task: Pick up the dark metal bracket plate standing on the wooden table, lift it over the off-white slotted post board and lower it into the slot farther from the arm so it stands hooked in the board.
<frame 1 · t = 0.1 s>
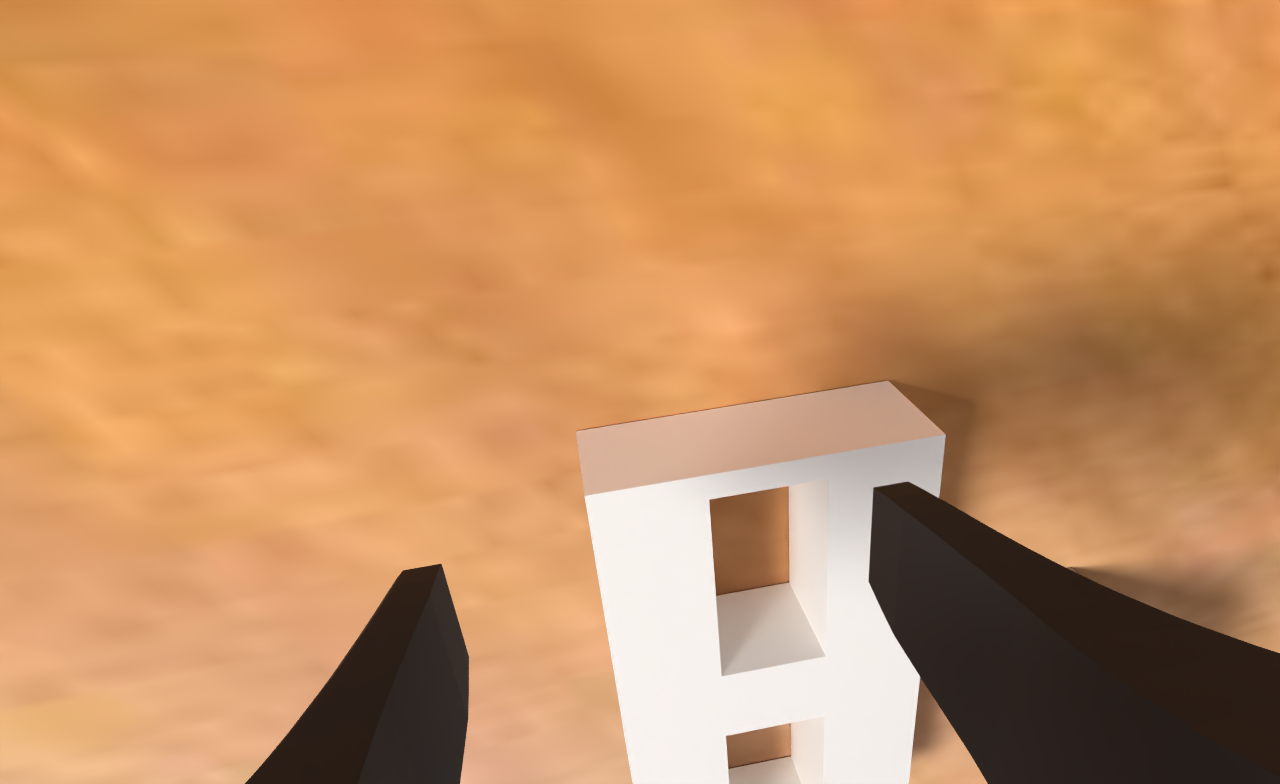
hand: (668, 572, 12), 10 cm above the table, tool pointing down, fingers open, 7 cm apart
post board: (745, 619, 26), on the table
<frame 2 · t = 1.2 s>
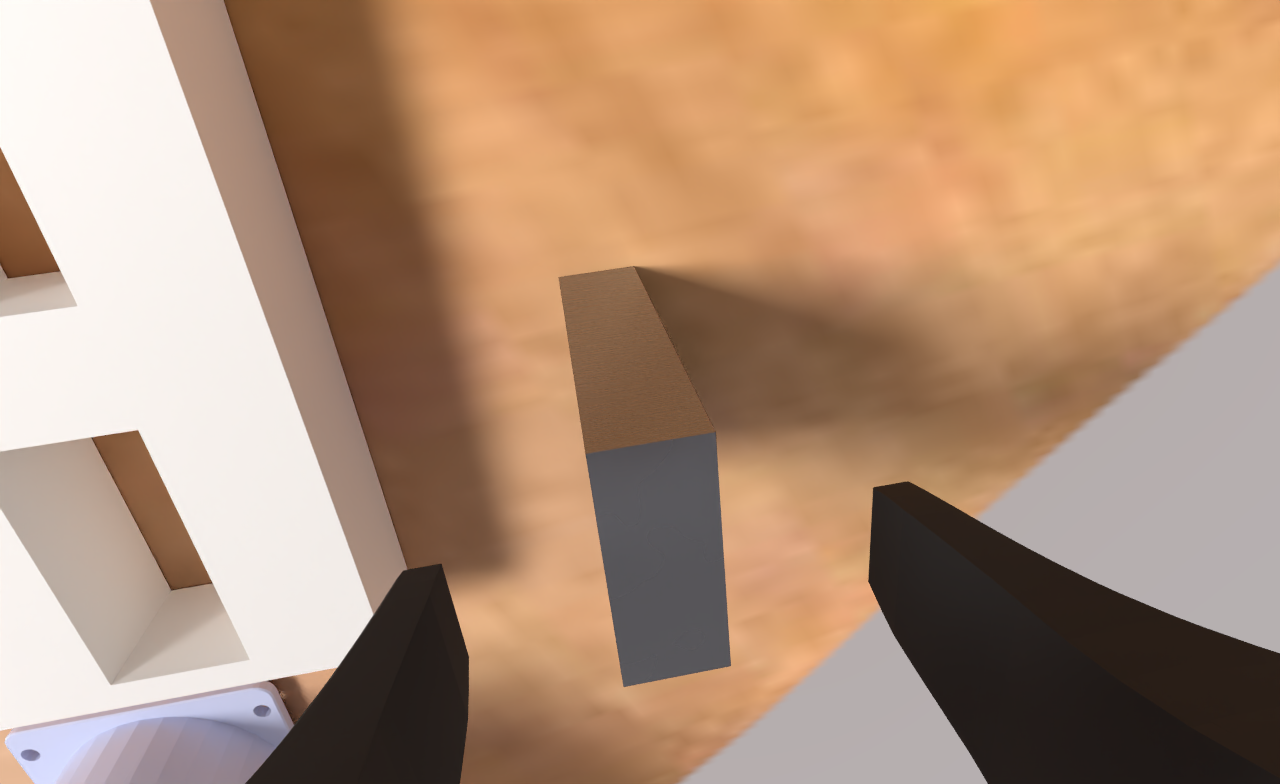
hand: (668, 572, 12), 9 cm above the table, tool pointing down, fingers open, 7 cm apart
bracket plate: (608, 358, 20), on the table
post board: (109, 323, 18), on the table
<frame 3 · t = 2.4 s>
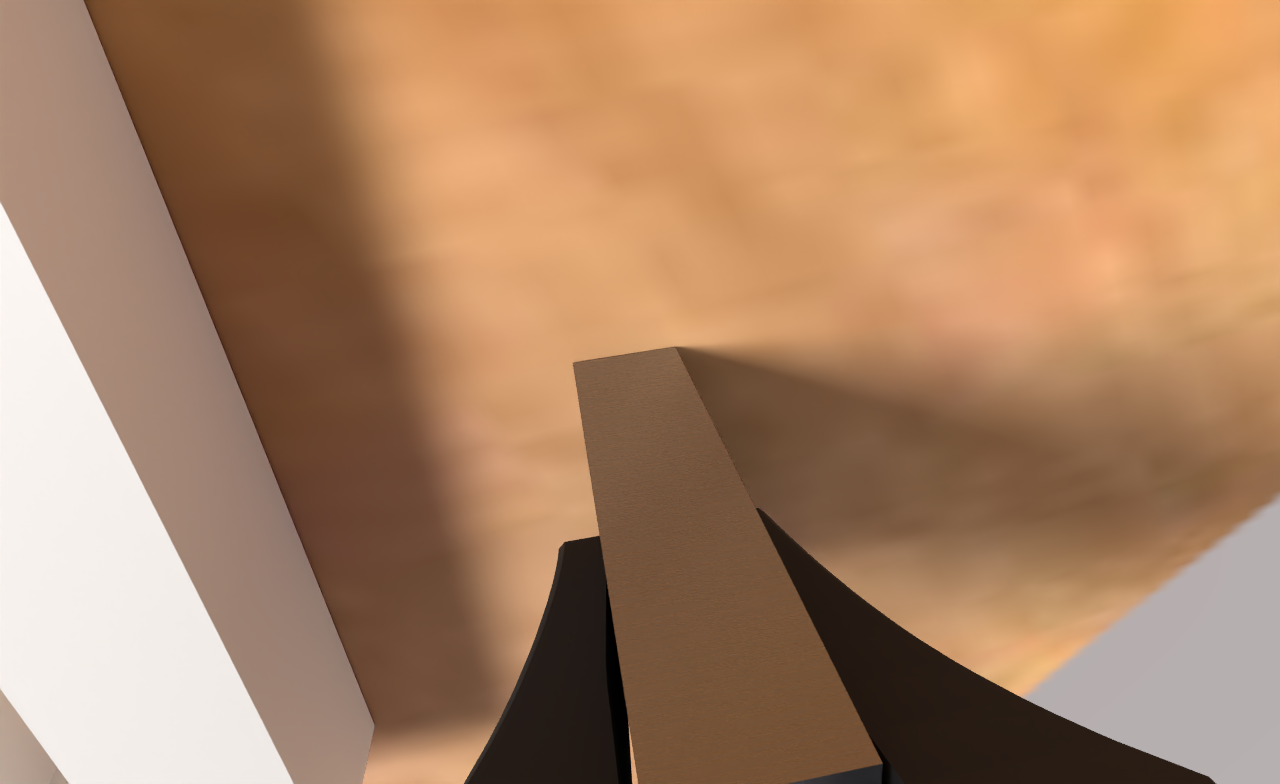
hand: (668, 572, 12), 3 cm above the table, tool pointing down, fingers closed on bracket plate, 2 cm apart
bracket plate: (638, 464, 15), on the table, touching gripper
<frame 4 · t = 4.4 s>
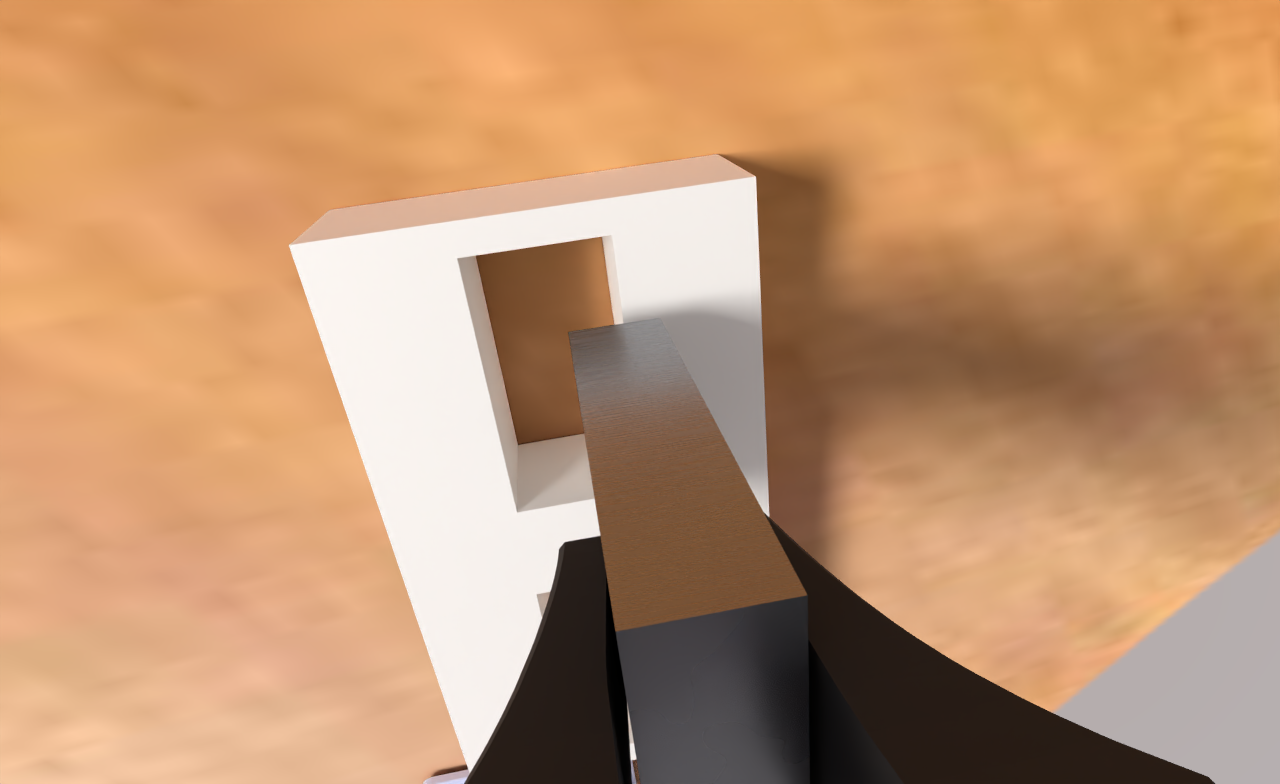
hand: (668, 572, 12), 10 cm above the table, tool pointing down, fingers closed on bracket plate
bracket plate: (627, 426, 16), point 5 cm above the table, touching gripper
post board: (580, 473, 22), on the table
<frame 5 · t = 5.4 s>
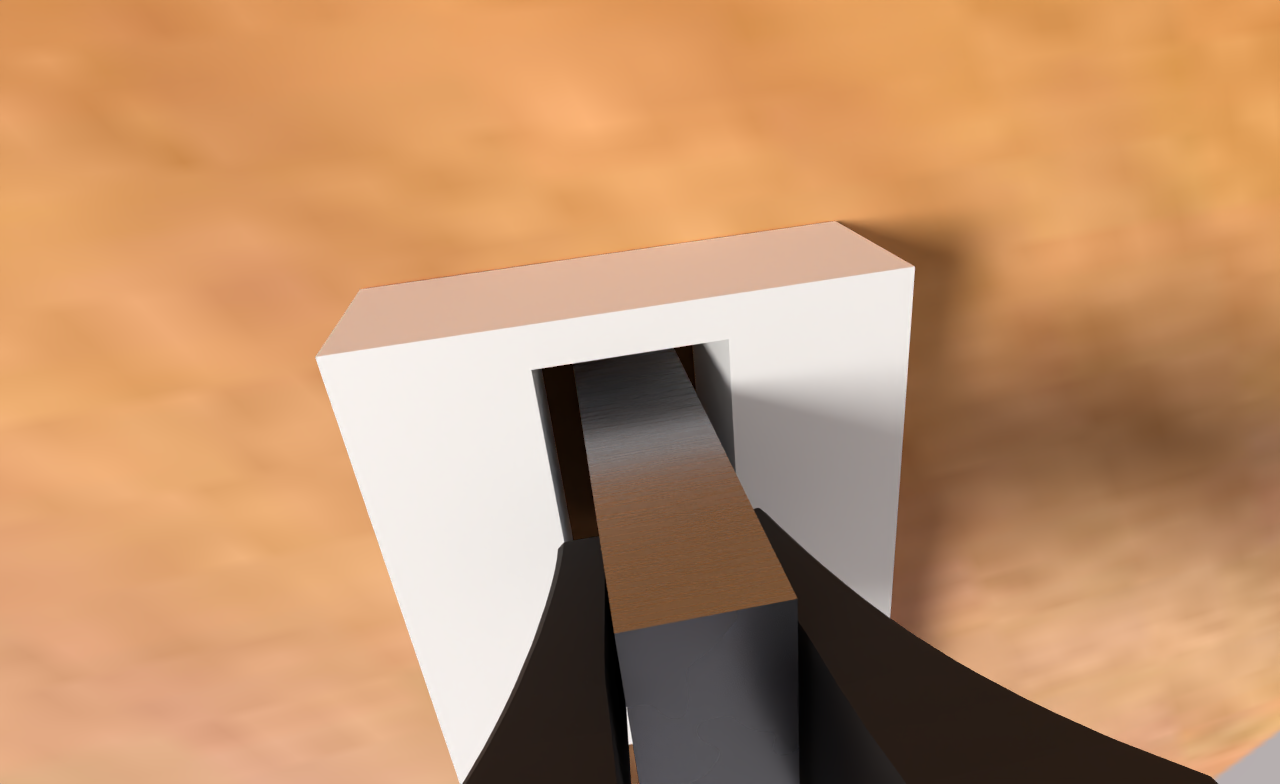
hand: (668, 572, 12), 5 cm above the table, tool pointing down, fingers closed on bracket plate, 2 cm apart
bracket plate: (626, 421, 17), resting in post board, touching gripper
post board: (647, 585, 19), on the table
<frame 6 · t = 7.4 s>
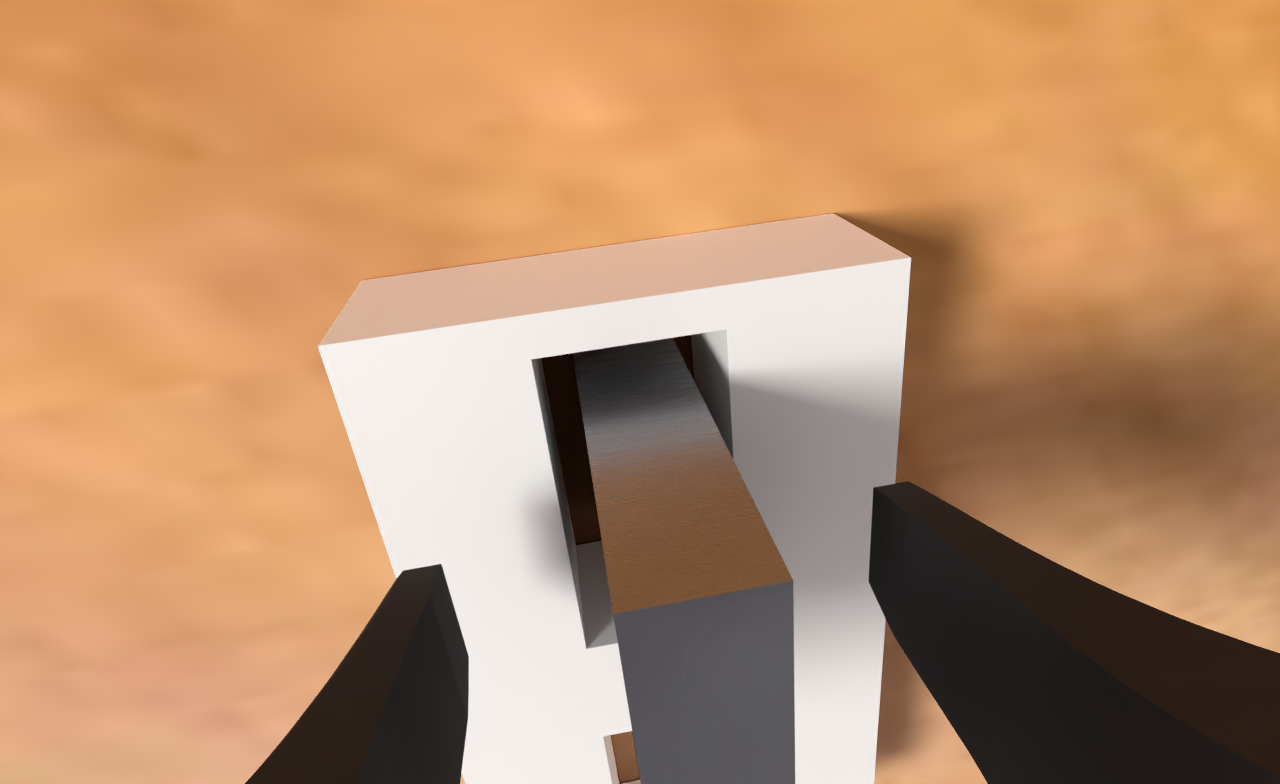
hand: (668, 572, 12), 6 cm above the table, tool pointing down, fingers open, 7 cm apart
bracket plate: (625, 412, 17), resting in post board
post board: (646, 575, 19), on the table
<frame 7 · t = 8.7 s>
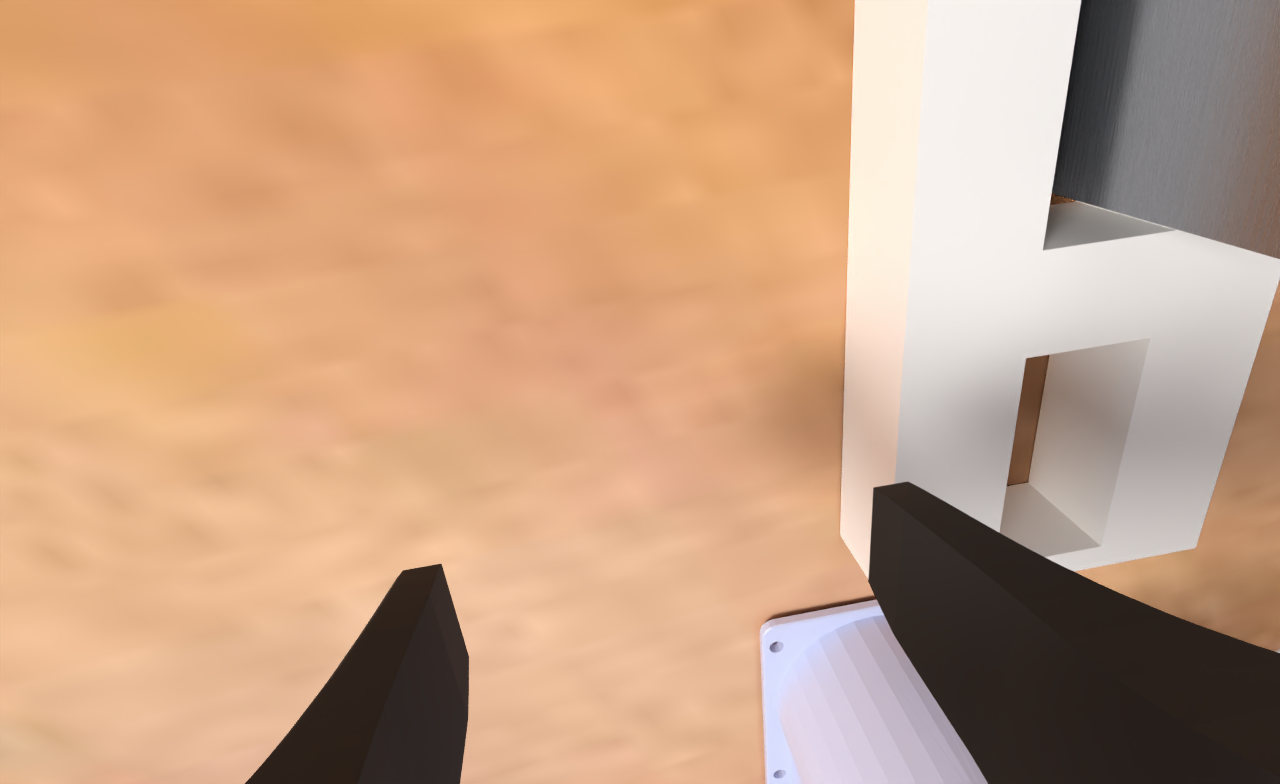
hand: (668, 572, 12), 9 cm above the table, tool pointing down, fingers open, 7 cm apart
bracket plate: (1037, 71, 19), resting in post board
post board: (1012, 257, 21), on the table
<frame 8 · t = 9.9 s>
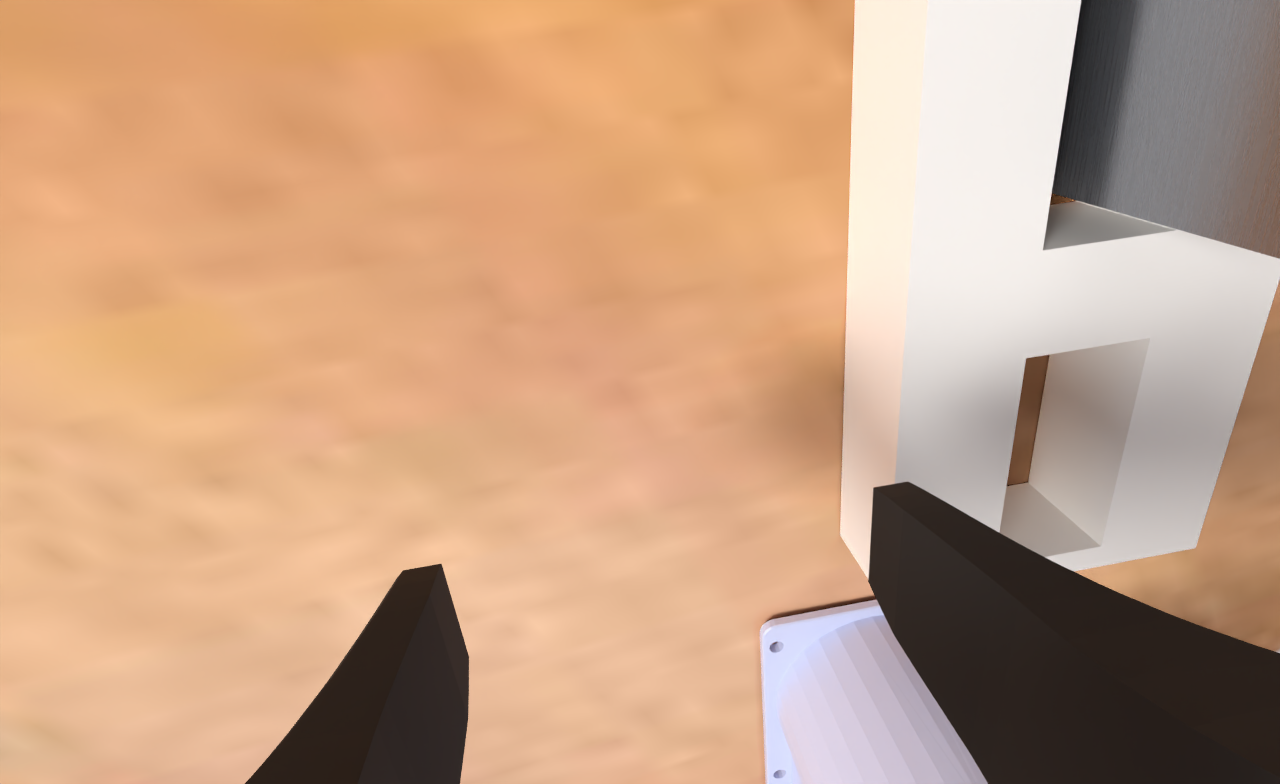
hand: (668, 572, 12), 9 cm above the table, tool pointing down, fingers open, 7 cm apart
bracket plate: (1037, 71, 19), resting in post board
post board: (1012, 257, 21), on the table
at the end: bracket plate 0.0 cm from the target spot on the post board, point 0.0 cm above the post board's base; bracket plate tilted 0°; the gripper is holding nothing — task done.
